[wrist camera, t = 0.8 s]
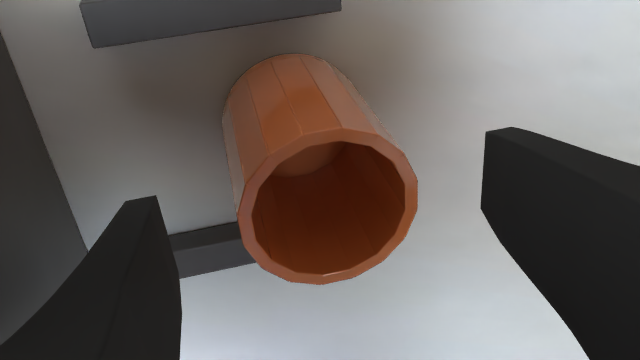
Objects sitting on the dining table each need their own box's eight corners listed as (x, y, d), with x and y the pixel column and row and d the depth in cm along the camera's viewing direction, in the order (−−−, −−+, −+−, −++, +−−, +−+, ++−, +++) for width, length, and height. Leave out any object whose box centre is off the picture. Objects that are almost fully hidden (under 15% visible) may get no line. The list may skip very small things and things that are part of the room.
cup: (360, 165, 23) (418, 264, 18) (235, 190, 22) (254, 300, 17) (353, 42, 20) (418, 113, 15) (209, 65, 20) (222, 149, 14)
